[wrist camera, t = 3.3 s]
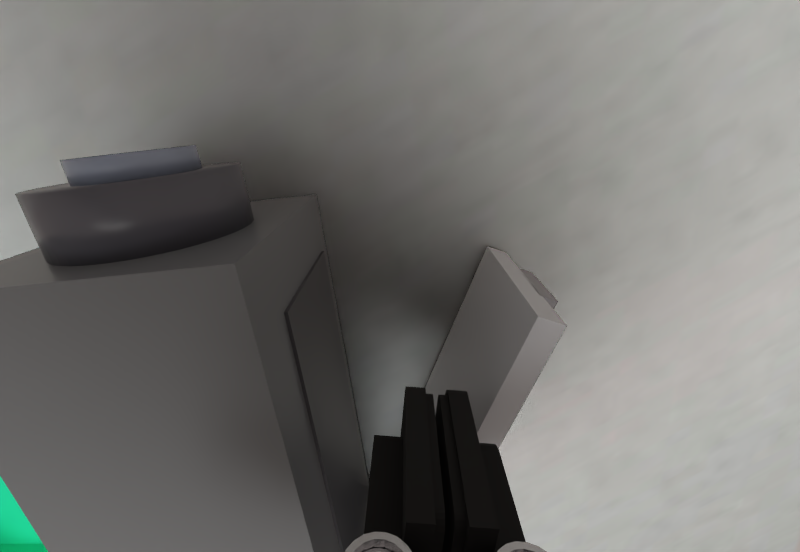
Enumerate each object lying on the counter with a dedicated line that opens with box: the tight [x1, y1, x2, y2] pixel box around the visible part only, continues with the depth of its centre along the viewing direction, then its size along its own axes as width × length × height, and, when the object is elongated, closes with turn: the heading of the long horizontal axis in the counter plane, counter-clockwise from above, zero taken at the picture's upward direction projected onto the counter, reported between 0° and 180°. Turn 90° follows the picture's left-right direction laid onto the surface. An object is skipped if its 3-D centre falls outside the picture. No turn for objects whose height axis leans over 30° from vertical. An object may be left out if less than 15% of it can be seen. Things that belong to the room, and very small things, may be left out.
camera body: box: [0, 145, 369, 552], centre depth 13 cm, size 18×7×9 cm, turn 6°
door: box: [425, 246, 567, 448], centre depth 15 cm, size 14×1×6 cm, turn 161°
